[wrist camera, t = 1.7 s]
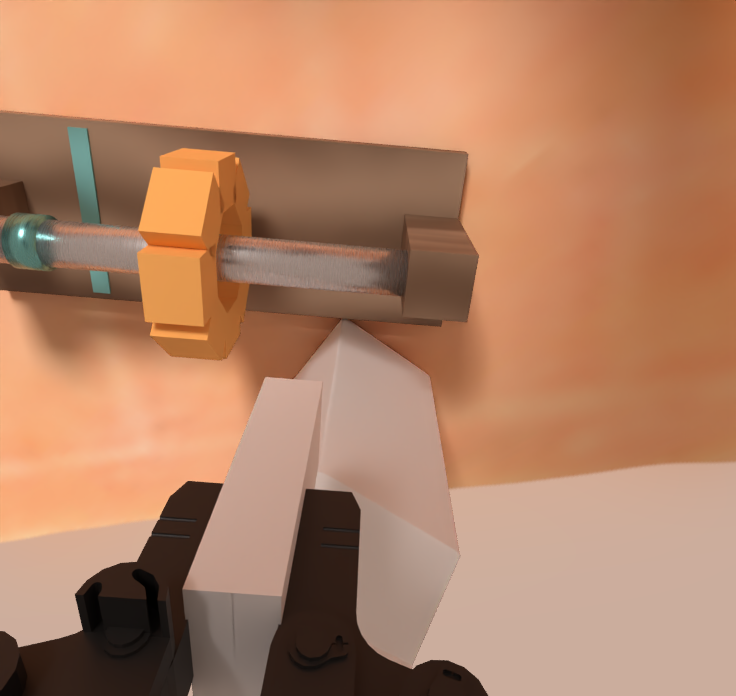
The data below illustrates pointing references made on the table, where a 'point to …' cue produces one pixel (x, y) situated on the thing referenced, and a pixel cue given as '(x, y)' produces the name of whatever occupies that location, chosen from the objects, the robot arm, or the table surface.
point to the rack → (252, 207)
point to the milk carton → (386, 484)
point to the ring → (193, 252)
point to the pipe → (233, 256)
